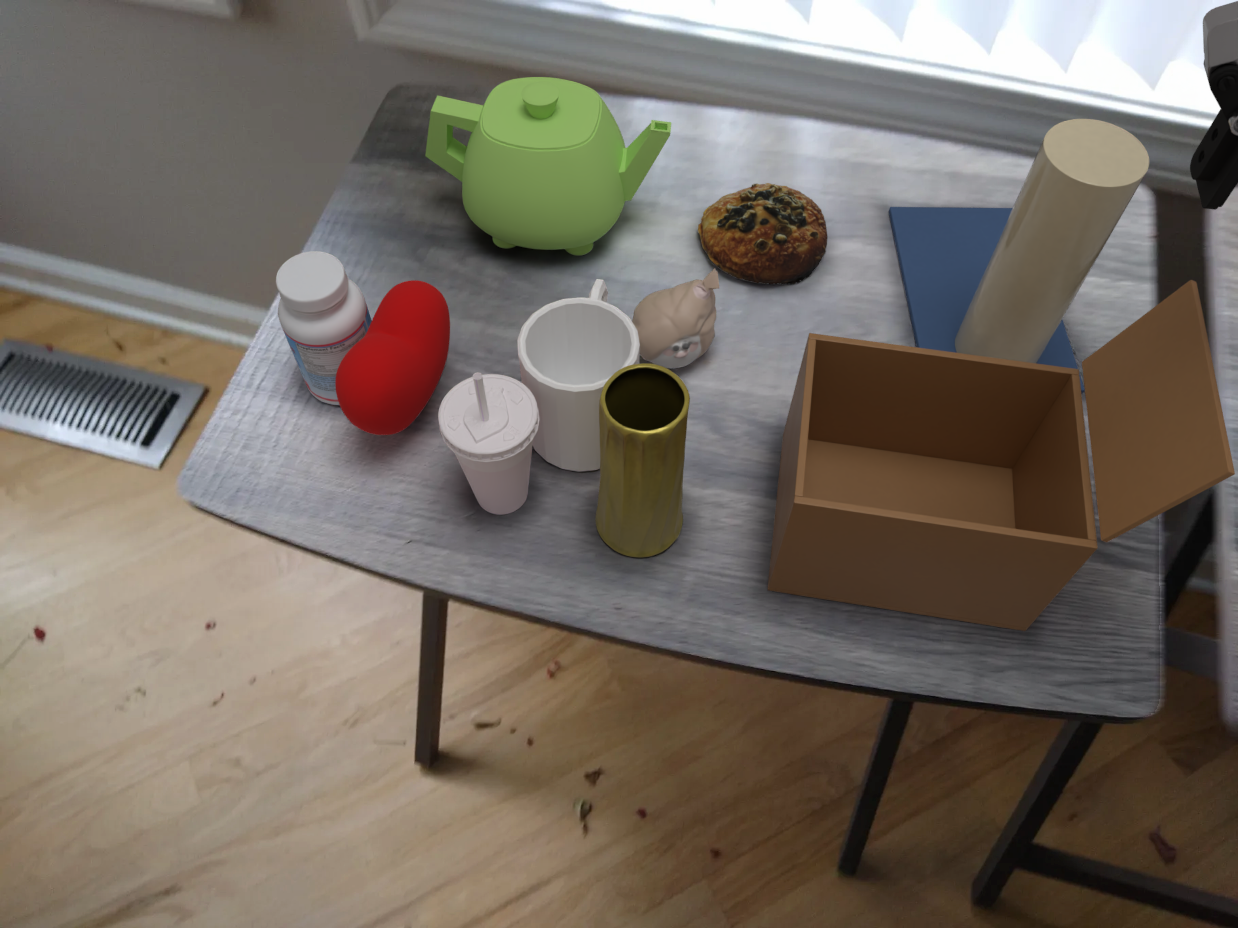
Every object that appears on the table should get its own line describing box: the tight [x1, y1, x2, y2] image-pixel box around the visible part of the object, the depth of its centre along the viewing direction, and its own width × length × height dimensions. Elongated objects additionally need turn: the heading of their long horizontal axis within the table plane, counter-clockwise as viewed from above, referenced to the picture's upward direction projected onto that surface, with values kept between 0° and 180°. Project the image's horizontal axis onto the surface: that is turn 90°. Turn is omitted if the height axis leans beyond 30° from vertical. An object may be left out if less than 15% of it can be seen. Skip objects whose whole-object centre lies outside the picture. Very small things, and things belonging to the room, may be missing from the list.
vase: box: [594, 362, 691, 558], centre depth 63 cm, size 6×6×14 cm
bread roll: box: [697, 182, 828, 286], centre depth 83 cm, size 11×11×5 cm
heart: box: [335, 279, 451, 436], centre depth 70 cm, size 12×5×10 cm, turn 160°
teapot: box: [424, 76, 672, 256], centre depth 80 cm, size 20×13×13 cm
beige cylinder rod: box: [955, 118, 1150, 364], centre depth 69 cm, size 6×6×19 cm
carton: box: [767, 332, 1099, 632], centre depth 64 cm, size 17×13×12 cm
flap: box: [1081, 279, 1236, 543], centre depth 54 cm, size 8×13×1 cm
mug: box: [516, 278, 641, 473], centre depth 70 cm, size 8×12×10 cm
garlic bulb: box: [631, 268, 720, 369], centre depth 74 cm, size 7×6×8 cm
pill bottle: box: [275, 250, 372, 406], centre depth 71 cm, size 6×6×11 cm
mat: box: [888, 206, 1085, 395], centre depth 80 cm, size 20×12×1 cm, turn 0°
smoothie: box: [437, 372, 540, 516], centre depth 64 cm, size 6×6×14 cm
